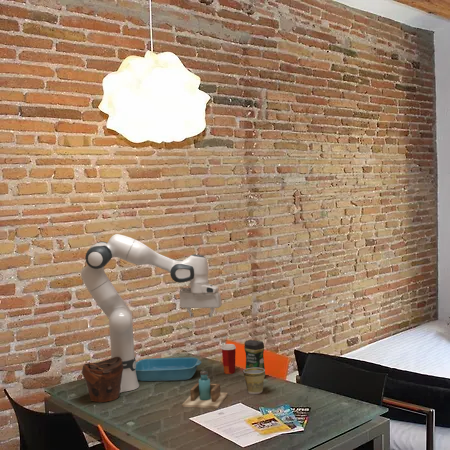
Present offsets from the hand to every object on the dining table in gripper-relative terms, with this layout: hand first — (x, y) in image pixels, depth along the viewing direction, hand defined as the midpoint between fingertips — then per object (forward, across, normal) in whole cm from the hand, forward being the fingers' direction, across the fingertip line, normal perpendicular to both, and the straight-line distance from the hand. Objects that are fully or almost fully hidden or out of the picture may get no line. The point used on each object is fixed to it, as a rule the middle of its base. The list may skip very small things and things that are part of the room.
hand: (201, 316), depth 294 cm
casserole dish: (+34, -24, +13) cm, 43 cm away
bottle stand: (+33, +7, -22) cm, 40 cm away
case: (+33, -41, -24) cm, 58 cm away
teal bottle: (+32, +7, -22) cm, 39 cm away
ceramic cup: (+33, +27, -6) cm, 43 cm away
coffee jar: (+33, +22, +15) cm, 43 cm away
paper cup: (+33, +7, +22) cm, 41 cm away
